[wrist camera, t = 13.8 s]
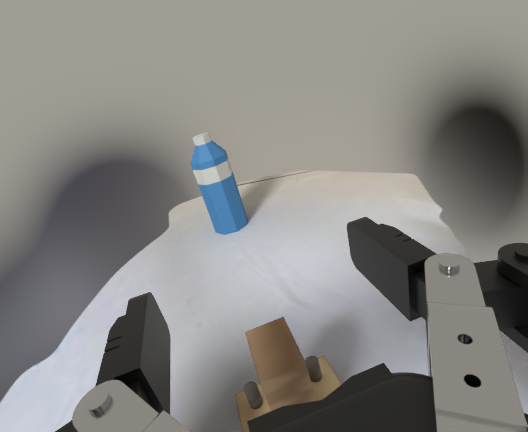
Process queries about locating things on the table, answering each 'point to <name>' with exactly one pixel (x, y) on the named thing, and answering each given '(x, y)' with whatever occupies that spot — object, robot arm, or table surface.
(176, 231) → the table surface
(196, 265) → the table surface
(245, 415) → the peg stand
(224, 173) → the water bottle
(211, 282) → the table surface
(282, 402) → the brown wooden block
